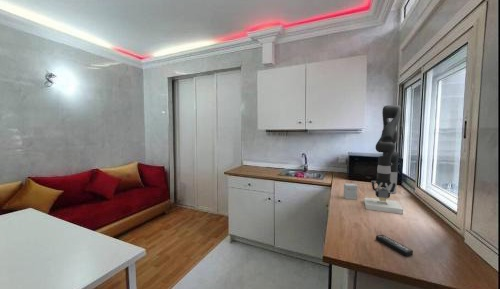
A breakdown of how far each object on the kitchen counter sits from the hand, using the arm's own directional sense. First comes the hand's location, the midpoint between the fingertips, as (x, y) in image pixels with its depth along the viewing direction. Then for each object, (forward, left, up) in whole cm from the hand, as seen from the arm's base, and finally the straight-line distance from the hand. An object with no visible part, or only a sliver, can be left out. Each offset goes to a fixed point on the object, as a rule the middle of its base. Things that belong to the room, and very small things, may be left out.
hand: (382, 197), depth 144 cm
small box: (-12, -19, -7) cm, 24 cm away
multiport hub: (+53, -3, -8) cm, 54 cm away
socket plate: (0, 0, -7) cm, 7 cm away
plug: (0, 0, -2) cm, 2 cm away
